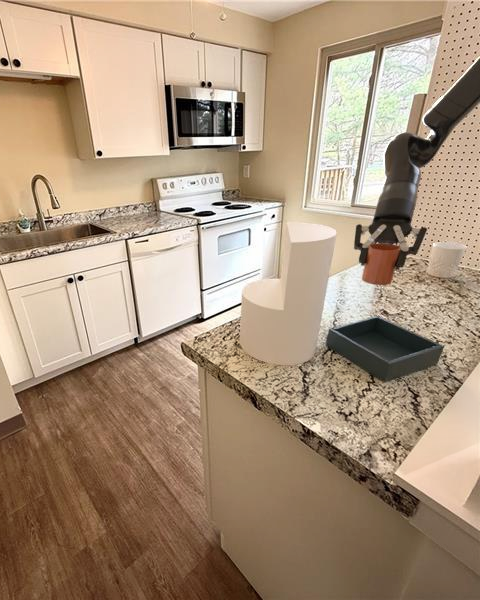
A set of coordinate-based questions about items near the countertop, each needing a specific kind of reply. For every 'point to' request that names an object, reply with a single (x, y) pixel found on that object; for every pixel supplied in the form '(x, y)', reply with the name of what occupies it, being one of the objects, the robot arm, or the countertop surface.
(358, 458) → the countertop surface
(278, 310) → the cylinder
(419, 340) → the tub
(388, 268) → the tumbler
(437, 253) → the white cup
